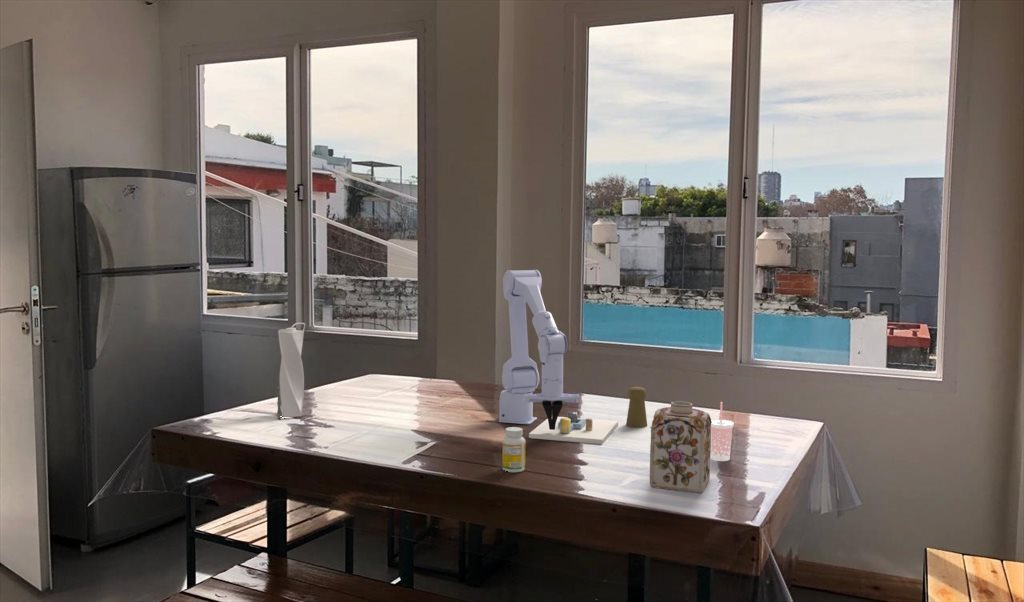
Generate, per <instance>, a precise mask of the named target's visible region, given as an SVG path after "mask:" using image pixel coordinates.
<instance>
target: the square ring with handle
mask: <svg viewBox="0 0 1024 602" xmlns="http://www.w3.org/2000/svg"><path fill="white" fill-rule="evenodd" d="M586 419H587V418H582V419H577V423H572V422H571V419H569V418H561V419H560V421H559V422H558V427H560V432H561V433H570V432H571V430H572V429H573V428H580V429H581V428H582V427H583V426H584V425H585V424H586Z"/></svg>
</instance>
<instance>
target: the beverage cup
mask: <svg viewBox="0 0 1024 602" xmlns="http://www.w3.org/2000/svg"><path fill="white" fill-rule="evenodd" d="M719 405H720V406H719V409H720V412H719V416H720V417H719V419H711V421H712V423H711V455H710V460H713V461H718V462H728V461H730V459H731V449H732V447H731V446H732V435H733V429H734V425H735V424H734V422H733V421H731V420H728V419H727V420H726V419H723V401H720V404H719Z"/></svg>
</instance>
